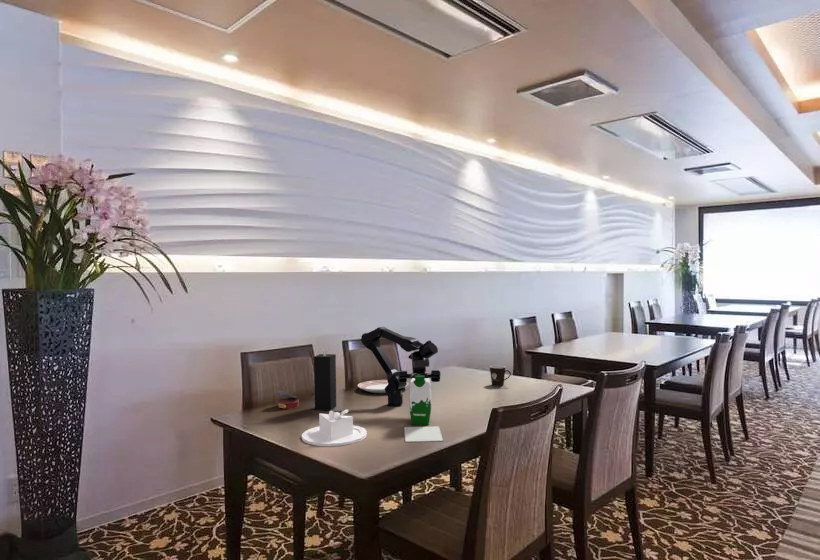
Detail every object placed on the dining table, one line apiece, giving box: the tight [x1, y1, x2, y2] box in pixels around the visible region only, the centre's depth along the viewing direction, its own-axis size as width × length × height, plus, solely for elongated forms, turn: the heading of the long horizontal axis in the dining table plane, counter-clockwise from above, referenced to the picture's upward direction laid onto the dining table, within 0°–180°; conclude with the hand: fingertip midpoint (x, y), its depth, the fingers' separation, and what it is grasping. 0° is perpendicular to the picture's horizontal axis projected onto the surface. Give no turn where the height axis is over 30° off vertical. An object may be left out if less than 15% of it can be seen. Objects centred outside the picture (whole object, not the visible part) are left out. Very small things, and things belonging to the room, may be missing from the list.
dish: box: [301, 408, 368, 447], centre depth 206 cm, size 25×25×11 cm
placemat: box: [403, 425, 444, 443], centre depth 207 cm, size 18×14×1 cm
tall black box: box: [313, 347, 337, 411], centre depth 248 cm, size 8×8×28 cm
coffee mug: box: [489, 365, 512, 387], centre depth 293 cm, size 12×9×10 cm
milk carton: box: [409, 375, 432, 426], centre depth 222 cm, size 9×9×20 cm
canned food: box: [277, 390, 300, 410], centre depth 253 cm, size 11×10×10 cm
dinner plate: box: [357, 379, 410, 394], centre depth 287 cm, size 28×27×3 cm
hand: (420, 392), depth 232 cm, fingers closed
